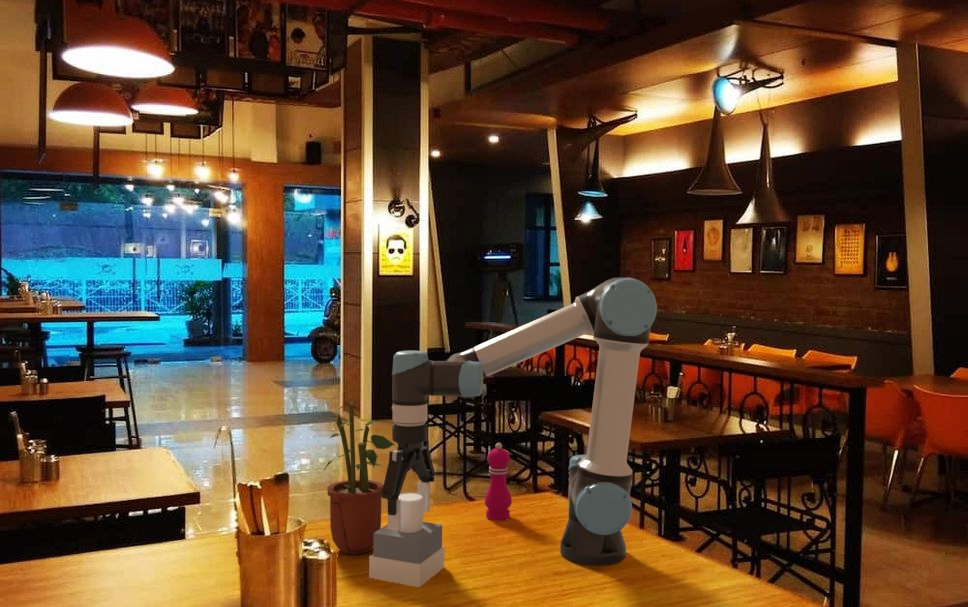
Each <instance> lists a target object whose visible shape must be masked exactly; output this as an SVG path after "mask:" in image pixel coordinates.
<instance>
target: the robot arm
mask: <svg viewBox="0 0 968 607" xmlns="http://www.w3.org/2000/svg"><path fill="white" fill-rule="evenodd" d="M657 311H658V305H657V300H656V297H655V294H654V293H653V291H652V289H651V288H650V287H649V286H648V285H647V284H645V283H644V282H643V281H641V280H639V279H637V278H633V277H623V276H621V277H619V276H618V277H612V278H610V279H607V280H605V281H604V282H602V283H600V284H599V285H597V286H595V287H593V288H592V289H591V290H588V291H586V292H584V293H583V294H581V295H578V296H575V300H574V302H573V303H571V304H568V305H566V306H564V307H562V308H559V309H557V310H555V311H553V312H551V313H548V314H546V315H543V316H541V317H539V318H537V319H535V320H532V321H530V322H528V323H525V324H523V325H521V326H518V327H516V328H514V329H512V330H510V331H507V332H504V333H502V334H501V335H498V336H496V337H493V338H491V339H489V340H487V341H484V342H481V343H480V344H477V345H475V346H474V347H471V348H469V349H466V350H464V351H461V352H455V353H454V354H452V355H450V356H449V358H447V359H446V360H436V361H435V360H431V359H430V360H429V357H428V353H427V352H426V351H424V350H400V351H397V352H395V354H393V357H392V358H393V361H392V372H391V376H392V406H391V410H392V422H393V424H392V428H391V430H392V431H391V438H392V441H393V442H395V443H396V444H397V450H391V449H390V451H389V455H388V465H387V468H386V473H385V478H384V482H383V485H384V486H383V490H382V494H381V499H386V500H387V525H388V528H387V529H392V530H398V531H399V530H401V499H398V498H399V495H400V493H402V488H403V485H404V483H405V480H406V477H407V473H408V472H409V471H411V469H412V467H413V469H414V471H415V473H416V475H417V477H418V479H419V481H417V482H416V483H417V484H416V485H417V486H416V487H417V492H416V493H420V494H423V495H424V496H425V506H424V513H430V510H431V509H430V501H431V498H430V497H431V496H430V495H431V494H430V493H431V491H430V488H431V487H430V485H431V484H430V483H434V481H435V476H436V475H435V474H436V472H435V468H434V465H433V461H432V457H431V455H432V454H431V451H430V442H429V439H428V424H427V423H426V422H427V421H428V396H429V397H435V396H436V397H437V396H438V397H464V398H469V397H480V396H481V395H482V394H483V391H484V390H483V388H484V379H485V378H488V377H489V376H491V375H494V374H496V373H498V372H501V371H503V370H506V369H508V368H510V367H512V366H514V365H518V364H520V363H521V362H524V361H526V360H528V359H531V358H533V357H536V356H538V355H540V354H542V353H544V352H547V351H549V350H552V349H553V348H556V347H557V348H558V347H559V346H561V345H563V344H566V343H567V342H568V343H569V342H570V341H573V340H575V339H578V338H580V337H582V336H585V335H586V334H588V335H591V336H593V339H594V340H595V342H596V343H597V344H598V347H599V350H598V357H597V358H598V359H597V365H596V372H595V374H596V375H595V382H594V388H593V389H594V390H593V397H592V398H593V400H592V407H591V414H590V424H589V432H588V439H587V448H586V454H575V455H573V456H572V457H571V458H570V459H569V466H568V467H567V468H568V469H567V470H568V471H569V472H568V473H569V477H568V518H567V520H568V521H567V522H566V526H565V528H564V532H563V534H562V537H561V540H560V551H559V552H560V554H561V556H562V557H563V558H565V559H566V560H568V561H571V562H574V563H576V564H580V565H587V566H588V565H589V566H608V565H615V564H618V563H621V562H622V561H624V560H625V559H626V557H627V544H626V542H625V541H626V540H625V538H624V535H623V533H622V529H623V528H625V527H626V525H627V524H628V523H629V522H630V520H631V517H632V513H633V505H632V503H633V501H632V498H631V489H632V488H631V487H632V480H633V468H631V467H630V465H629V464H628V461H627V460H628V453H629V445H630V437H631V436H630V435H631V429H632V428H631V427H632V421H633V412H634V404H635V396H636V388H637V379H638V373H639V372H638V371H639V365H640V364H639V363H640V358H641V357H640V356H641V352H642V350H644V349H645V348H647V346H649V343H650V336H651V335H650V334H651V328H652V325H653V324H654V322H655V321H656V316H657Z"/></svg>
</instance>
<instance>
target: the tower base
mask: <svg viewBox="0 0 968 607" xmlns="http://www.w3.org/2000/svg"><path fill="white" fill-rule="evenodd" d="M373 555H374V553H373V554H370V555H369V557H368V560H369V562H368V565H369V566H368V567H369V569H368V570H369V572H368V578H369V579H371V578H374V579H373V580H377V579H380V580H379V581H382V580H385V581H384V582H388V581H390V582H389V583H393V582H396V583H395V584H398V583H400V585H404V584H405V586H411V587H416V588H420V587H422V586H423V585H424V584H426V583H427V582H428V581H430V579H431V577H432V578H433V577H434V576H436V575H437V574H438V573H439V572H440V571H442V570H443V569H444V568H445V546H443V545H442V547H441V548H440V549H439V550H437V551H436V552H435V553H433V554H432V555H431V556H430V557H428V558H427V559H426V560H424V561H423V562H422V563H420V564H417V563H411V562H405V561H399V560H393V559H387V558H381V557H375V556H373ZM442 568H443V569H442ZM441 569H442V570H441ZM436 573H437V574H436ZM426 581H427V582H426Z"/></svg>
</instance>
